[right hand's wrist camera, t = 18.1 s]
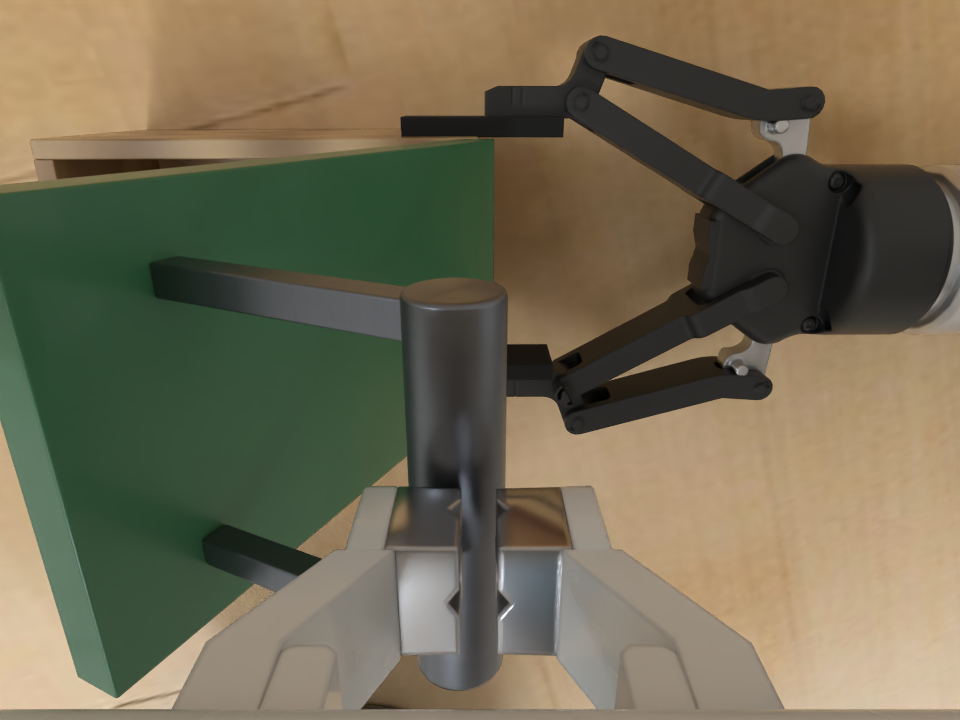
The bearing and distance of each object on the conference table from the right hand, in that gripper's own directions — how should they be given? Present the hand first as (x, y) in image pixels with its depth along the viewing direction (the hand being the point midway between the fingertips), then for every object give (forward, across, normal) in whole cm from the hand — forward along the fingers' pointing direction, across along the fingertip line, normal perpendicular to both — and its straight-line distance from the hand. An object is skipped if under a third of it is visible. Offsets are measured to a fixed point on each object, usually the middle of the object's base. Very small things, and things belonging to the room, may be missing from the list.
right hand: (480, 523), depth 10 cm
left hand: (+20, -3, 0) cm, 21 cm away
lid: (+9, -5, 0) cm, 11 cm away
